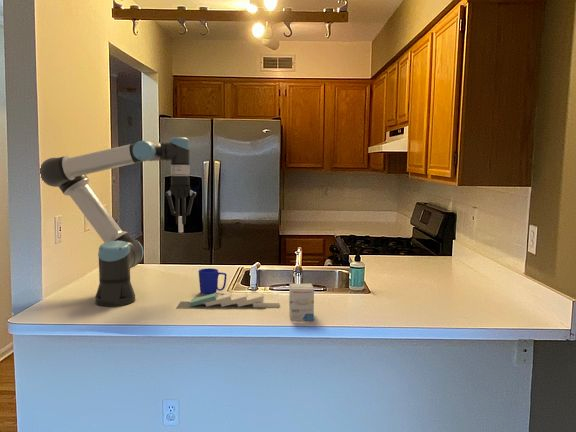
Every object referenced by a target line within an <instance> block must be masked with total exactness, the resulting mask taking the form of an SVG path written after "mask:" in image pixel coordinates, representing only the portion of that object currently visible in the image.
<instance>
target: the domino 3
mask: <svg viewBox="0 0 576 432" xmlns="http://www.w3.org/2000/svg"><path fill="white" fill-rule="evenodd" d="M262 300H265V296H264V292H263V293H257V294H253V295H250V296H248V299H247V301H243V302H239V303H237V304H238V307H240V306H244V305H248V304H251V303H255V302H259V301H262Z"/></svg>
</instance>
